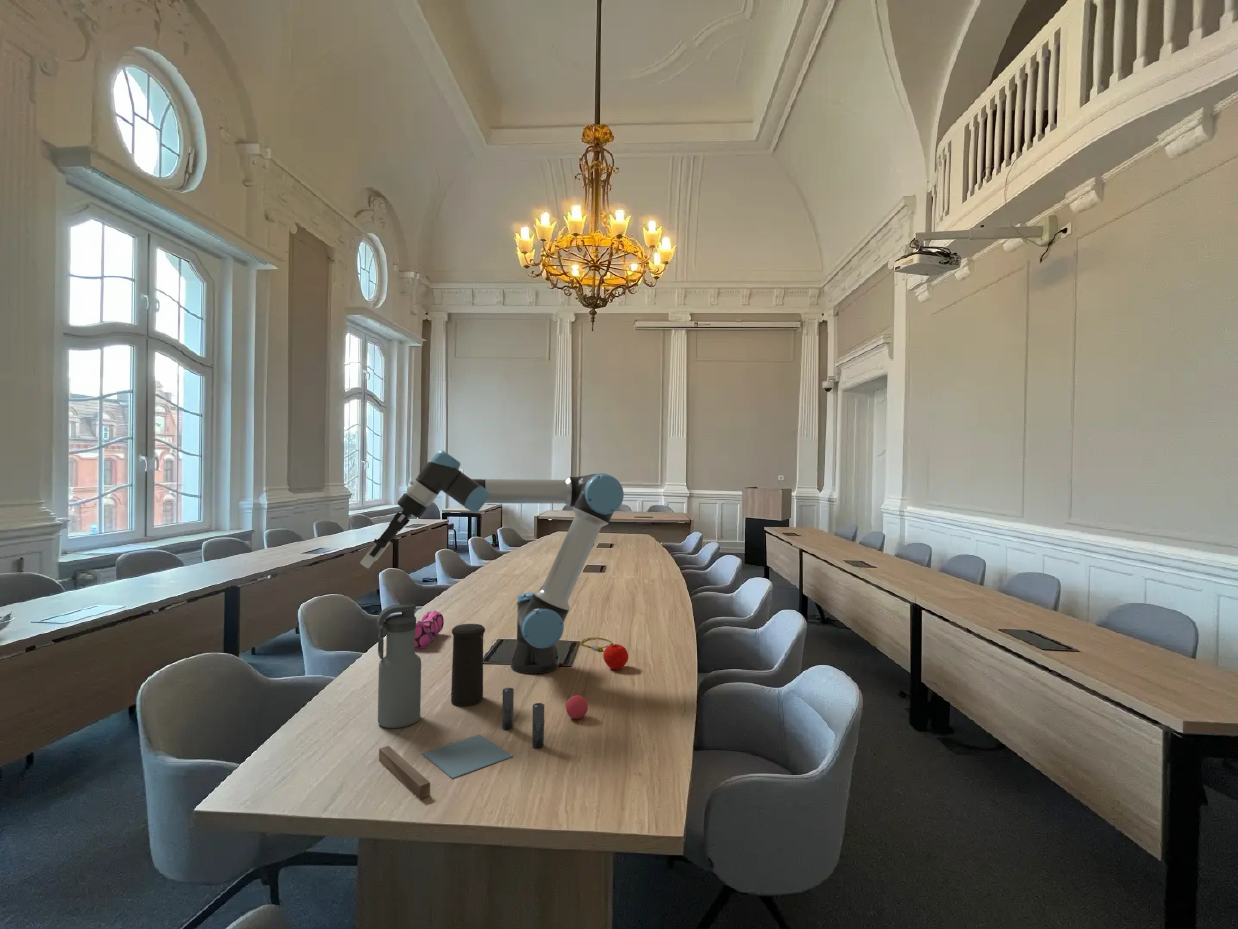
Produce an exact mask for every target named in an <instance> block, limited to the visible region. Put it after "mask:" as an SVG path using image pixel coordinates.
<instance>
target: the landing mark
mask: <svg viewBox="0 0 1238 929" xmlns="http://www.w3.org/2000/svg"><path fill="white" fill-rule="evenodd" d="M421 754H422V755H423V756H424V757H425V758H426V759H427V760H428V761H430V762H431V763H432V764H433V765H435V766H436V767H437V768H438V769H439V770H441V771H442V772H443V773H444V774H446V775H447V776H448V777H449V778H450V779H452V780H453V779H455V778H459V777H461V776H463V775H467V774H469V773H472V772H475V771H477V770H478V771H479V770H480V769H483V768H486V767H489V766H492V765H495V764H497V763H500V762H503V761H506V760H508V759H511V758H513V757H514V756H513V755H512V754H511V753H509V752H508V751H506V750H504V749H503V748H502V747H501V746H499V745H498V744H495V743H494V742H492V741H491V740H489V739H488V738H487V737H485V736H483V735H482V734H477V735H474V736H471V737H467V738H465V739H461V740H459V741H455V742H452V743H449V744H445V745H443V746H439V747H435V748H434V749H430V750H426V751H424V752H421Z"/></svg>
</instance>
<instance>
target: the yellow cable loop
mask: <svg viewBox="0 0 1238 929" xmlns="http://www.w3.org/2000/svg"><path fill="white" fill-rule="evenodd" d="M591 639H596V637H595V636H594V637H587V638H584V639H582V640H581V641H580V644H581V645H582V646H581V647H583V648H584V647H585V648H591V649H592V651H596V652H599V653H601V652H604V649H603V648H605V649H606V648H607V647H608V646H610V645H613V642H612V641H611V639H610V640H609V639H607V638H602V637H597V639H599V641H606V642H608V643H609V644H608V643H607V645H605V646H598V645H592V646H591V645H588V644H585V643H584V642H587V641H590V640H591ZM591 641H592V640H591Z"/></svg>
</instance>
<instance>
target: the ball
mask: <svg viewBox="0 0 1238 929" xmlns="http://www.w3.org/2000/svg"><path fill="white" fill-rule="evenodd" d="M588 709H589V704H588V701H587V699H586V698H585V697H584V696H582V695H581V694H575V695H572V696H570V697H569V698H568V699H567V701H566V703H565V711H566V714H567V715H568V716H569V717H570V718H571V719H575V720H578V719H579V720H580V719H582V718H584V716H585V715H587V713H588Z"/></svg>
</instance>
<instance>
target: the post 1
mask: <svg viewBox="0 0 1238 929" xmlns="http://www.w3.org/2000/svg"><path fill="white" fill-rule="evenodd" d="M514 693H515V692H514V688H513V687H505V688H503V689H502V703H501V704H502V705H501V706H502V712H501V713H502V716H501V717H502V720H501V724H502V725H501V729H502V730H503V731H510V730H512V729H514V704H515V702H514V695H515V694H514Z"/></svg>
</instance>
